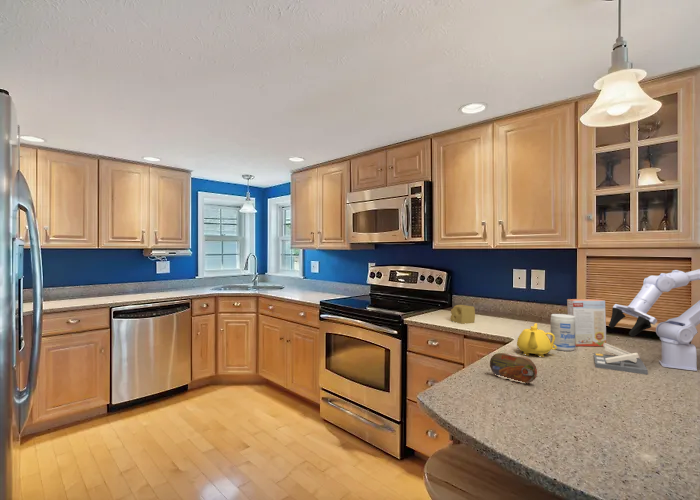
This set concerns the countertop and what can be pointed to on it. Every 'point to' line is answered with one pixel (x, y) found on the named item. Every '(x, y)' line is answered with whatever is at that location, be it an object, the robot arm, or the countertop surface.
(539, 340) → the teapot
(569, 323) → the supplement tub
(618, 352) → the rocker middle
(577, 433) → the countertop surface
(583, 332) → the cracker box
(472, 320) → the cheese
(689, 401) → the countertop surface
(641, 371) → the switch base
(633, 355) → the rocker near
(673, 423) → the countertop surface
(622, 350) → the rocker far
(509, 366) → the tin
